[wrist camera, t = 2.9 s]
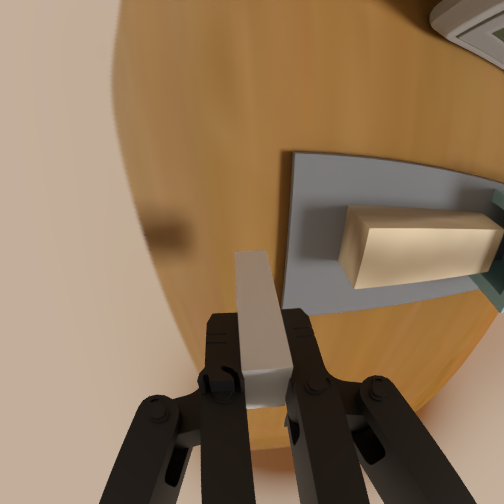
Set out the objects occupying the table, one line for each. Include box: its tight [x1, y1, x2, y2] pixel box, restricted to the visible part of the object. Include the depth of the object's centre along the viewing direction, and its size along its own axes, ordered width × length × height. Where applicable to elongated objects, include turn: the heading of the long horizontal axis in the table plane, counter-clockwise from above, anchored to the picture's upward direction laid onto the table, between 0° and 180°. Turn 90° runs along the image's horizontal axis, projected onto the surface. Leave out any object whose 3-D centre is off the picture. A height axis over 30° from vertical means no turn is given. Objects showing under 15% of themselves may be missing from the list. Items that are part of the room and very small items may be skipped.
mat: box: [281, 151, 504, 316], centre depth 18 cm, size 12×27×1 cm, turn 90°
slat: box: [338, 205, 504, 289], centre depth 16 cm, size 4×14×3 cm, turn 90°
